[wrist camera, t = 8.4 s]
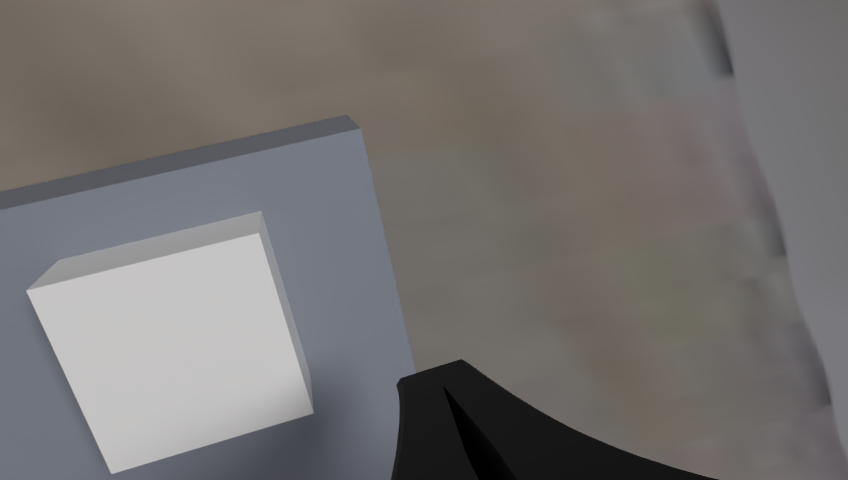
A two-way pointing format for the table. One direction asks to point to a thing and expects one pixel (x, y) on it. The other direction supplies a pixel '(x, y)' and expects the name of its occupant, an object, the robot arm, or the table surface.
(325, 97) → the table surface
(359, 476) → the board
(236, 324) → the tile
